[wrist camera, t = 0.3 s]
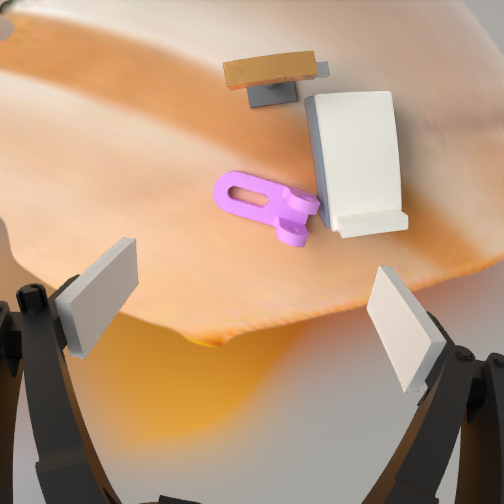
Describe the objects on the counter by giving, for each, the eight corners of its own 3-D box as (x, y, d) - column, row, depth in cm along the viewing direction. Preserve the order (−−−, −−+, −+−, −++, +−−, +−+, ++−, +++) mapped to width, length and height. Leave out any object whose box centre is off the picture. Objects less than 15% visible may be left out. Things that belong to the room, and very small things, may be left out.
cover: (313, 95, 31) (320, 90, 26) (386, 92, 30) (401, 88, 25) (330, 228, 36) (338, 240, 32) (397, 219, 35) (411, 230, 31)
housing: (242, 65, 34) (239, 56, 29) (368, 55, 32) (380, 47, 27) (269, 224, 42) (270, 236, 37) (386, 208, 40) (400, 218, 35)
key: (232, 78, 34) (222, 62, 25) (318, 67, 33) (333, 49, 24) (236, 97, 35) (226, 86, 26) (321, 86, 34) (337, 73, 25)
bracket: (313, 194, 40) (322, 206, 34) (300, 231, 42) (306, 249, 36) (221, 165, 39) (212, 172, 33) (210, 204, 41) (200, 218, 35)
